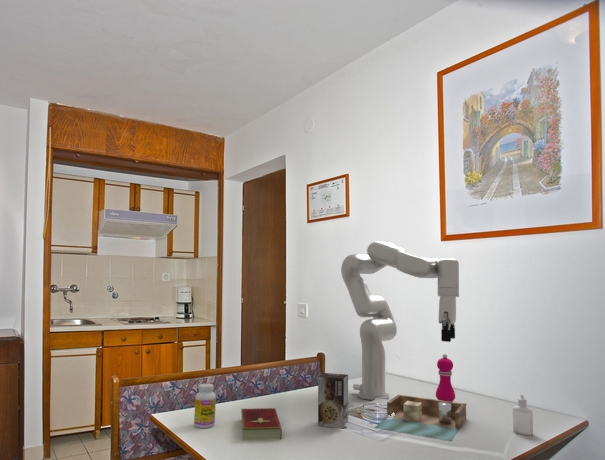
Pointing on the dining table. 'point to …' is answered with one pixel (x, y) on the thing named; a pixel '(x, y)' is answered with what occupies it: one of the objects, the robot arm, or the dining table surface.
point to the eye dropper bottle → (522, 418)
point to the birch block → (412, 411)
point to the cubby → (424, 418)
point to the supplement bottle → (205, 406)
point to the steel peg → (444, 413)
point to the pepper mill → (445, 380)
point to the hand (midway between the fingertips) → (448, 339)
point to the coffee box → (332, 400)
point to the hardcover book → (260, 424)
